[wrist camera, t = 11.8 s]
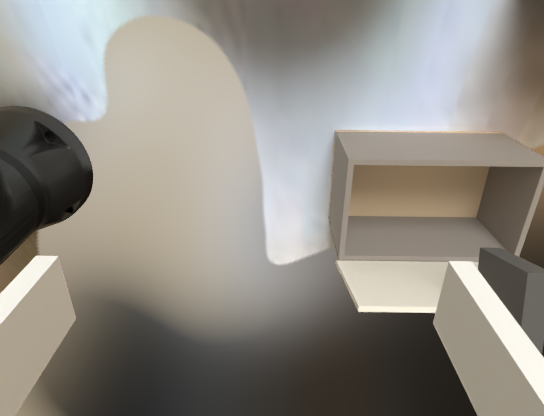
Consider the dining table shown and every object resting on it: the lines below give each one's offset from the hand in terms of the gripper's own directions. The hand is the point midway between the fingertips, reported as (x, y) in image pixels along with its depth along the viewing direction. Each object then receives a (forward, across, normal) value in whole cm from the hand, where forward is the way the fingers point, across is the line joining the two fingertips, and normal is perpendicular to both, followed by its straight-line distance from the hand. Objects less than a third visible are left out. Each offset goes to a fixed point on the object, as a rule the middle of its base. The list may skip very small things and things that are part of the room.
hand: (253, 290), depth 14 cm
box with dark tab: (+19, +18, -9) cm, 28 cm away
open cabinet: (+37, +18, -11) cm, 42 cm away
